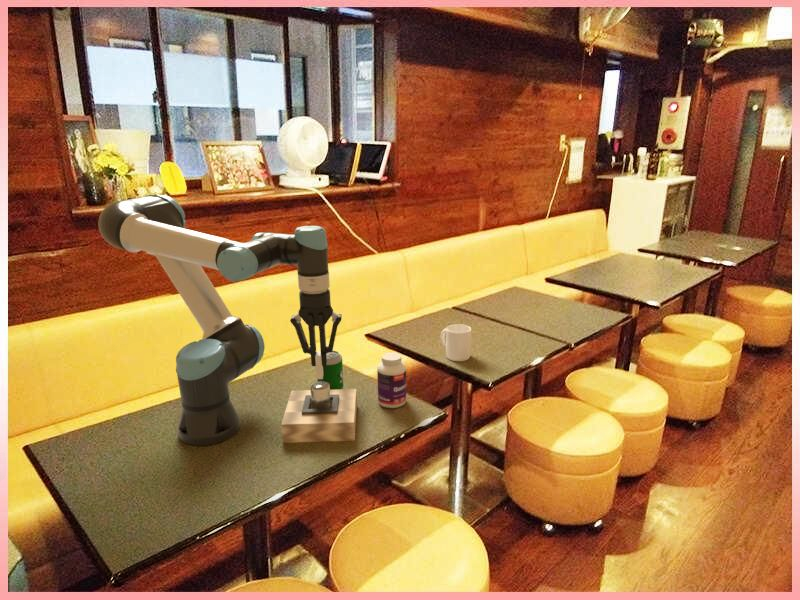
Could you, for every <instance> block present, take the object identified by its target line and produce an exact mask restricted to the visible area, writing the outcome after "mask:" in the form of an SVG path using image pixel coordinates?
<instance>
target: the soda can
mask: <svg viewBox="0 0 800 600" xmlns="http://www.w3.org/2000/svg"><path fill="white" fill-rule="evenodd" d="M326 355H327V364H326V366H323V379H317V378H316V380H317V381H316V382H327V383H329V385H330V390H335V389H344V374H343V373H344V372H343V370H344V369H343V368H344V367H343V356H342V354H341V353H339V351H336V350H333V351H332V352H331V353H330V352H329V353H327V354H326Z"/></svg>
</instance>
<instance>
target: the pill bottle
mask: <svg viewBox="0 0 800 600" xmlns="http://www.w3.org/2000/svg"><path fill="white" fill-rule="evenodd" d="M402 360H403V359H402V354H400V353H398V352H385V353H384V354H382V355H381V362H380V363H379V364H378V365H377V369H376V370H377V372H376V373H377V374H376V375H377V401H378V405H380V406H381V407H383V408H387V409H397V408H400V407H402V406H404V405H405V404H406V401H407V366H406V364H405V363H404V362H403V361H402Z"/></svg>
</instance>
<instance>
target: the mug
mask: <svg viewBox="0 0 800 600" xmlns="http://www.w3.org/2000/svg"><path fill="white" fill-rule="evenodd" d="M445 335H446V336H445ZM440 342H441V343H440V344H441V345H442V346H443V347H444V348H445V356H446V358H447V359H448V360H450V361H453V362H465V361H467V360H469V359H470V358H471V354H472V352H471V350H472V327H470V326H469V325H466V324H462V323H458V324H457V323H455V324H450V325H448V326H446V327H445V328H444V329H443V330H442V331H441V333H440Z"/></svg>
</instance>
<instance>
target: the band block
mask: <svg viewBox="0 0 800 600" xmlns="http://www.w3.org/2000/svg"><path fill="white" fill-rule="evenodd" d="M357 395H358V394H357V388H343V389H335V390H330V403H331V405H330V407H329V408H324V409H313V408H312V406H311V391H310V389H304V390H302V389H301V390H298V389H297V390H291V392H290V395H289V398H288V401H287V404H286V409H285V411H284V414H283V417H282V421H281V424H280V426H281V437H282V443H283V444H284V443H285V444H286V443H287V444H288V443H291V444H292V443H313V442H314V443H315V442H316V443H318V442H319V443H320V442H322V441H323V443H325V442H350V441H351V442H352V441H353V442H355V440H356V426H357V423H356V422H357V410H358V409H357V408H358V401H357V400H358V399H357V397H358V396H357Z"/></svg>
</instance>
